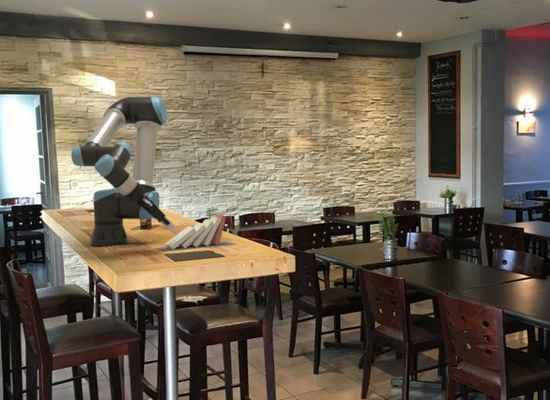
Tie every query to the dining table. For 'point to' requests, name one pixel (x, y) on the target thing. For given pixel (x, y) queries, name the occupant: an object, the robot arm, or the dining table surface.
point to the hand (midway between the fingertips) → (173, 229)
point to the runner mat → (165, 249)
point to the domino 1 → (180, 237)
